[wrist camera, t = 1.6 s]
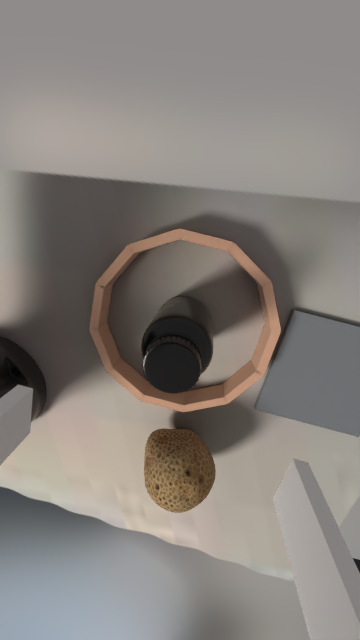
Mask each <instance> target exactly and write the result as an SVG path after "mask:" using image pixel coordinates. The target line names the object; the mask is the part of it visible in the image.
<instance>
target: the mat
mask: <svg viewBox="0 0 360 640" xmlns="http://www.w3.org/2000/svg"><path fill="white" fill-rule="evenodd" d="M254 408H255V410H259V411H263V412H267V413H270V414H274V415H278V416H282V417H285V418H289V419H293V420H297V421H301V422H304V423H308V424H312V425H316V426H320V427H323V428H327V429H331V430H335V431H338V432H342V433H346V434H350V435H354V436H357V437H359V435H360V326H356V325H353V324H349V323H345V322H341V321H337V320H333V319H329V318H326V317H322V316H318V315H314V314H310V313H306V312H302V311H298V310H295V309H293V310H292V313H291V315H290V318H289V320H288V323H287V325H286V328H285V330H284V333H283V335H282V338H281V340H280V343H279V345H278V348H277V350H276V353H275V355H274V358H273V360H272V363H271V366H270V368H269V371H268V373H267V376H266V378H265V381H264V383H263V386H262V388H261V391H260V393H259V396H258V398H257V401H256V403H255V406H254Z"/></svg>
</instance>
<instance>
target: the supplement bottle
mask: <svg viewBox="0 0 360 640" xmlns="http://www.w3.org/2000/svg"><path fill="white" fill-rule="evenodd" d="M141 351H142V356H143V368H144V369H143V372H144V373H145V377H146V378H147V381H148V382H150V384H151V385H152V386H154V388H156V389H158V390H159V391H163V392H165V393H170V394H172V393H174V394H177V393H182V392H184V391H187V390H188V389H191V388H192V386H194V385H195V384H196V382H197V381H198V380H199V377H200V375H201V374H202V373H203V372H204V371H205V370H206V368H207V367H208V366H209V364H210V362H211V359H212V355H213V335H212V320H211V316H210V313H209V311H208V309H207V308H206V307H205V306H204V305H203V304H202V303H201V302H200V301H198V300H196V299H194V298H191V297H186V296H181V297H176V298H173V299H171V300H169V301H167V302H166V303H165V304H164V305H163V306H162V307H161V308H160V310H159V311H158V313H157V314H156V316H155V317H154V319H153V320H152V322H151V323H150V325H149V326H148V328H147V329H146V331H145V333H144V335H143V338H142V343H141Z"/></svg>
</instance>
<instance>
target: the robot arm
mask: <svg viewBox="0 0 360 640" xmlns="http://www.w3.org/2000/svg"><path fill="white" fill-rule="evenodd" d="M45 399H46V387H45V382H44V379H43V376H42V374H41V371H40V370H39V368H38V366H37V365H36V363H35V362H34V360H33V359H32V358H31V357H30V356H29V355H28V354H27V353H26V352H25V351H24V350H23V349H22V348H20V347H19V346H17V345H16V344H14V343H13V342H11V341H9V340H7V339H5V338H2V337H0V465H1V464H2V463H3V462H4V460H5V459H6V458H7V457H8V456H9V455H10V454H11V453H12V452H13V451H14V450H15V448H16V447H17V446H18V445H19V444H20V443H21V442H22V441H23V440H24V439H25V438H26V436H27V435H28V434H29V433H30V425H31V422H32V421H33V420H34V419H35V418H36V417H37V416H38V415H39V413H40V412H41V410H42V408H43V406H44V403H45ZM273 501H274V505H275V509H276V513H277V516H278V520H279V524H280V528H281V531H282V535H283V539H284V543H285V547H286V550H287V554H288V558H289V562H290V565H291V569H292V573H293V577H294V581H295V584H296V588H297V592H298V595H299V599H300V603H301V607H302V611H303V615H304V618H305V622H306V626H307V629H308V633H309V637H310V640H360V560H358V559H354V558H352V556H351V553H350V551H349V549H348V547H347V545H346V543H345V541H344V539H343V536H342V534H341V532H340V530H339V528H338V526H337V523H336V521H335V519H334V517H333V515H332V513H331V511H330V508H329V506H328V504H327V502H326V500H325V498H324V496H323V494H322V491H321V489H320V487H319V485H318V483H317V481H316V479H315V476H314V474H313V472H312V470H311V468H310V466H309V464H308V462H304V461H300V460H297V459H292V461H291V463H290V465H289V467H288V469H287V471H286V473H285V475H284V477H283V479H282V481H281V483H280V485H279V487H278V489H277V491H276V493H275V495H274V497H273Z"/></svg>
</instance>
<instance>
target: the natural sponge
mask: <svg viewBox="0 0 360 640" xmlns="http://www.w3.org/2000/svg"><path fill="white" fill-rule="evenodd" d="M144 462H145V464H144V477H145V485H146V488H147V491H148V493H149V495H150V497H151V498H152V499H153V501H154V502H155V503H156V504H158V505H159V506H160V507H162V508H164V509H166V510H168V511H170V512H175V513H181V512H185V511H188V510H190V509H192V508H194V507H195V506H197V505H198V504H200V503H201V502H202V501H203V500H204V499H205V498H206V497H207V495H208V494H209V492H210V490H211V488H212V486H213V483H214V480H215V464H214V461H213V457H212V455H211V453H210V451H209V449H208V448H207V446H206V445H205V443H204V442H203V441H202V439H201V438H200V437H199V436H198V435H197V434H196V433H194V432H193V431H191V430H186V429H159V430H156V431H154V432H152V434H151V435H150V436H149V438H148V441H147V444H146V448H145V461H144Z"/></svg>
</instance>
